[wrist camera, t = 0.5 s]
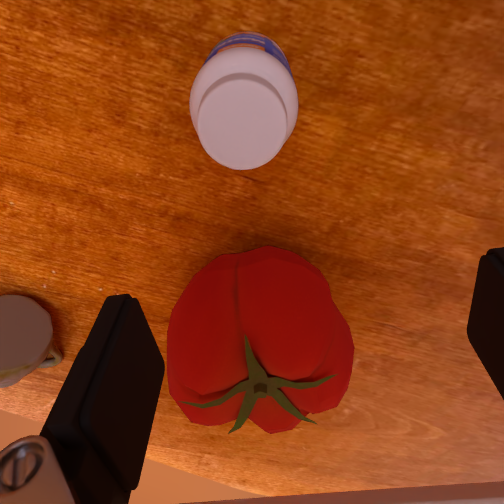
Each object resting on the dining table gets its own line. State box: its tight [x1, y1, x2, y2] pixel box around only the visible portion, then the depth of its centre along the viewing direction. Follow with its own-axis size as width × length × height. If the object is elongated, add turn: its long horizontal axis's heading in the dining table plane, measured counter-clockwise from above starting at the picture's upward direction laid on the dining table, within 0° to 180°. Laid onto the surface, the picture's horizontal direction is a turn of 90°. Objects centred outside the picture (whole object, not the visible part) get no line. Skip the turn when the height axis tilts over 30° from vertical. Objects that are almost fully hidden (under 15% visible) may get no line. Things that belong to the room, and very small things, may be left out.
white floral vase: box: [0, 295, 62, 388], centre depth 35 cm, size 8×10×10 cm
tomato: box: [167, 245, 354, 434], centre depth 30 cm, size 13×14×12 cm
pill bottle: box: [189, 31, 298, 170], centre depth 21 cm, size 5×5×10 cm
